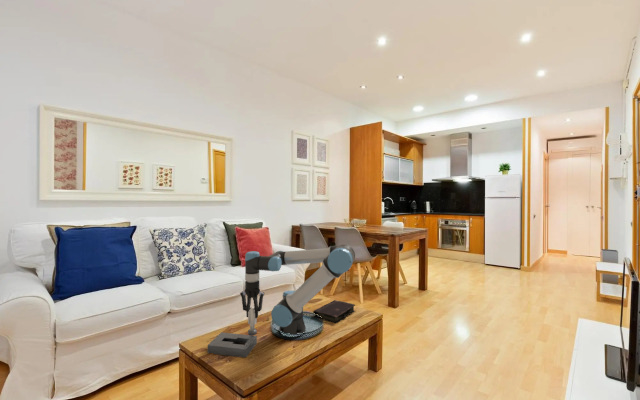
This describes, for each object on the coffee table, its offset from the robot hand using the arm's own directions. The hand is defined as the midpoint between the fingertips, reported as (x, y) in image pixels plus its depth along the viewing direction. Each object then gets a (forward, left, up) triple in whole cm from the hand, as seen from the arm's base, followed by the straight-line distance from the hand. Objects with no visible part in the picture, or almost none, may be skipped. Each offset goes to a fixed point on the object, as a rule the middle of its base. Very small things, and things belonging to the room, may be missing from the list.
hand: (252, 323), depth 166 cm
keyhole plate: (+5, +12, -8) cm, 16 cm away
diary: (-41, -43, -9) cm, 60 cm away
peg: (0, 0, -6) cm, 6 cm away
